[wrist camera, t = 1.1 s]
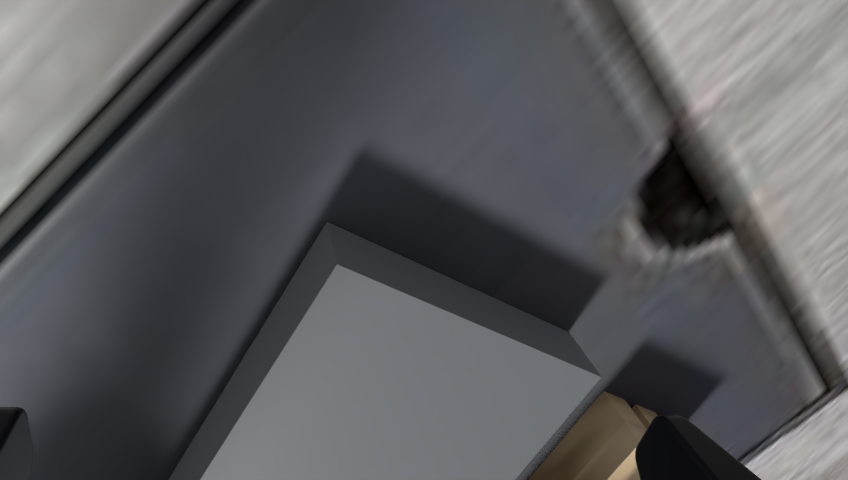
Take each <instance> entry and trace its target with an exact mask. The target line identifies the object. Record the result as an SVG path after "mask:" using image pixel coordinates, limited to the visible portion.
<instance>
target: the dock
mask: <svg viewBox="0 0 848 480" xmlns="http://www.w3.org/2000/svg"><path fill="white" fill-rule="evenodd" d="M600 378H601V376H600V374H599V373H598V372H597V370H596V369H595V367H594V366H593V365H592V363H591V362H590V361H589V359H588V358H587V356H586V355H585V354H584V352H583V351H582V349H581V348H580V347H579V345H578V344H577V343H576V341H575V340H574V338H573V337H572V336H571V334H570V333H569V332H568V331H565V330H563V329H561V328H559V327H557V326H554V325H552V324H550V323H548V322H546V321H544V320H541V319H539V318H537V317H535V316H533V315H530V314H528V313H526V312H524V311H522V310H519V309H517V308H515V307H513V306H511V305H508V304H506V303H504V302H502V301H500V300H498V299H495V298H493V297H491V296H489V295H487V294H484V293H482V292H480V291H478V290H476V289H473V288H471V287H469V286H467V285H465V284H462V283H460V282H458V281H456V280H454V279H452V278H449V277H447V276H445V275H443V274H441V273H438V272H436V271H434V270H432V269H430V268H427V267H425V266H423V265H421V264H419V263H416V262H414V261H412V260H410V259H408V258H406V257H403V256H401V255H399V254H397V253H395V252H392V251H390V250H388V249H386V248H384V247H381V246H379V245H377V244H375V243H373V242H370V241H368V240H366V239H364V238H362V237H360V236H357V235H355V234H353V233H351V232H349V231H346V230H344V229H342V228H340V227H338V226H335V225H333V224H331V223H329V222H326V224H325V226H324V227H323V229H322V230H321V232H320V234H319V235H318V237H317V239H316V240H315V242H314V243H313V245H312V247H311V248H310V250H309V252H308V253H307V255H306V256H305V258H304V260H303V261H302V263H301V265H300V266H299V268H298V269H297V271H296V273H295V274H294V276H293V278H292V279H291V281H290V282H289V284H288V286H287V287H286V289H285V291H284V292H283V294H282V296H281V297H280V299H279V300H278V302H277V304H276V305H275V307H274V309H273V310H272V312H271V313H270V315H269V317H268V318H267V320H266V322H265V323H264V325H263V326H262V328H261V330H260V331H259V333H258V335H257V336H256V338H255V339H254V341H253V343H252V344H251V346H250V348H249V349H248V351H247V352H246V354H245V356H244V357H243V359H242V361H241V362H240V364H239V365H238V367H237V369H236V370H235V372H234V374H233V375H232V377H231V378H230V380H229V382H228V383H227V385H226V387H225V388H224V390H223V392H222V393H221V395H220V396H219V398H218V400H217V401H216V403H215V405H214V406H213V408H212V409H211V411H210V413H209V414H208V416H207V418H206V419H205V421H204V422H203V424H202V426H201V427H200V429H199V431H198V432H197V434H196V435H195V437H194V439H193V440H192V442H191V444H190V445H189V447H188V448H187V450H186V452H185V453H184V455H183V457H182V458H181V460H180V461H179V463H178V465H177V466H176V468H175V470H174V471H173V473H172V475H171V476H170V478H169V479H168V480H515V479H516V478H517V477H518V476H519V474H520V473H521V472H522V471H523V470H524V468H525V467H526V466H527V465H528V464H529V462H530V461H531V460H532V459H533V458H534V457H535V455H536V454H537V453H538V452H539V451H540V449H541V448H542V447H543V446H544V445H545V444H546V442H547V441H548V440H549V439H550V438H551V436H552V435H553V434H554V433H555V432H556V430H557V429H558V428H559V427H560V426H561V425H562V423H563V422H564V421H565V420H566V419H567V417H568V416H569V415H570V414H571V413H572V412H573V410H574V409H575V408H576V407H577V406H578V404H579V403H580V402H581V401H582V400H583V398H584V397H585V396H586V395H587V394H588V393H589V391H590V390H591V389H592V388H593V387H594V385H595V384H596V383H597V382H598V381H599V380H600Z"/></svg>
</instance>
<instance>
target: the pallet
mask: <svg viewBox="0 0 848 480" xmlns="http://www.w3.org/2000/svg"><path fill="white" fill-rule="evenodd" d="M656 416H658V415H657V414H656V413H655V412H653V411H651V410H648V409H646V408H643V407H641V406H639V405H636V404H635V405H634V406H633V407H632V408H631V407H630V406H629V405H628V403H627V402H626V401H625V400H624V399H622V398H619V397H617V396H614V395H612V394H610V393H607V392H605V391H603V392H602V393H601V394H600V396H599V397H598V398H597V399H596V400H595V401H594V403H593V404H592V405H591V406H590V407H589V409H588V410H587V411H586V412H585V413H584V414H583V416H582V417H581V418H580V419H579V420H578V421H577V423H576V424H575V425H574V426H573V427H572V428H571V430H570V431H569V432H568V433H567V434H566V435H565V437H564V438H563V439H562V440H561V441H560V443H559V444H558V445H557V446H556V447H555V448H554V450H553V451H552V452H551V453H550V454H549V455H548V457H547V458H546V459H545V460H544V461H543V462H542V464H541V465H540V466H539V467H538V468H537V470H536V471H535V472H534V473H533V474H532V475H531V477H530V478H529V479H528V480H640V476H639V473H638V469H637V465H636V460H635V451H636V447H637V445H638V443H639V441H640V440H641V438H642V436H643V435H644V433H645V431H646V430H647V428H648V426H649V425H650V423H651V421H652V420H653V419H654V418H655V417H656Z"/></svg>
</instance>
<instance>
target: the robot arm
mask: <svg viewBox="0 0 848 480" xmlns="http://www.w3.org/2000/svg"><path fill="white" fill-rule="evenodd" d="M635 460H636V465H637V469H638V473H639V476H640V480H761V479H760V478H759V477H757V476H756V475H755V474H754V473H752V472H751V471H750V470H749V469H748V468H746V467H745V466H744V465H743V464H741V463H740V462H739V461H738V460H737V459H735V458H734V457H733V456H732V455H730V454H729V453H728V452H727V451H725V450H724V449H723V448H722V447H721V446H719V445H718V444H717V443H716V442H714V441H713V440H712V439H711V438H710V437H708V436H707V435H706V434H705V433H703V432H702V431H701V430H700V429H698V428H697V427H696V426H695V425H694V424H692V423H691V422H690V421H689V420H687V419H686V418H685V417H683V416H680V415H658V416H656V417H655V418H654V419H653V420H652V421H651V423H650V425H649V426H648V428H647V430H646V431H645V433H644V435H643V436H642V438H641V440H640V441H639V443H638V445H637V447H636V451H635ZM32 462H33V445H32V440H31V434H30V429H29V423H28V418H27V414H26V412H25V410H24V409H22V408H19V407H0V480H28V479H29V475H30V471H31V467H32Z"/></svg>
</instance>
